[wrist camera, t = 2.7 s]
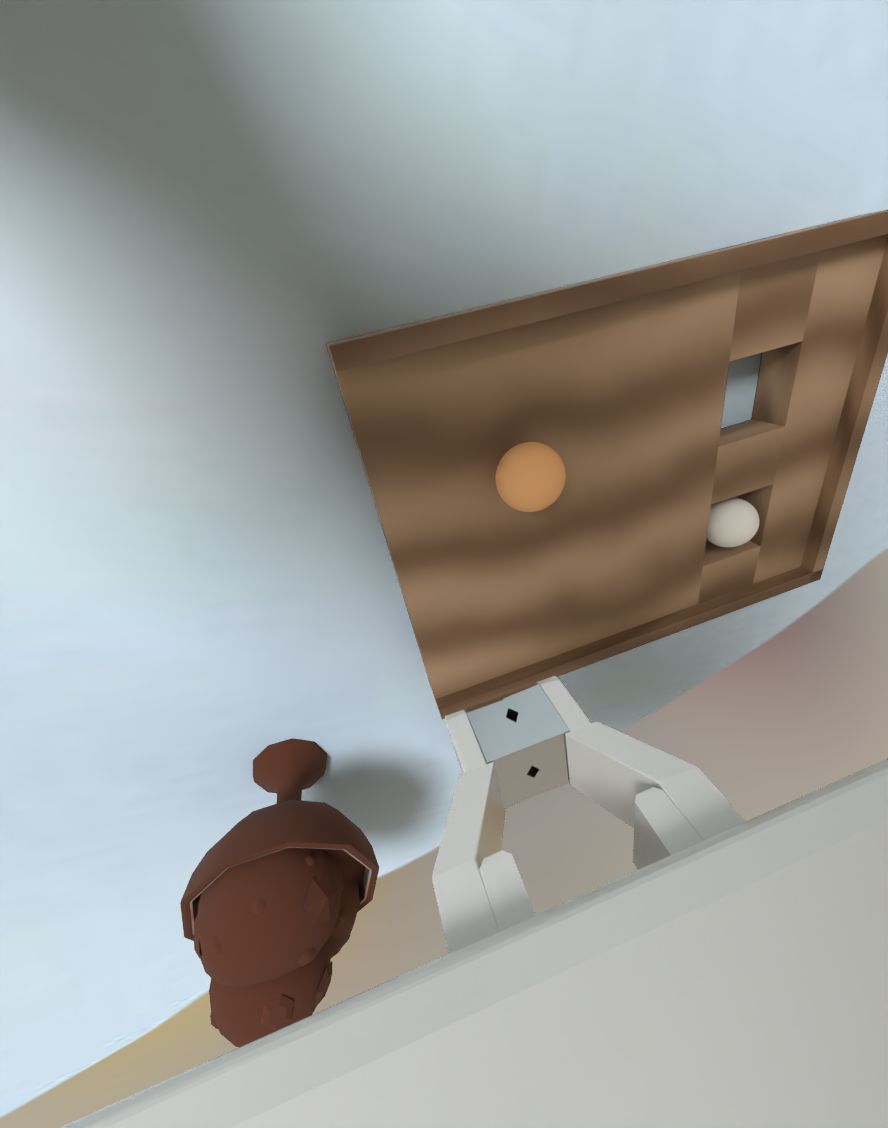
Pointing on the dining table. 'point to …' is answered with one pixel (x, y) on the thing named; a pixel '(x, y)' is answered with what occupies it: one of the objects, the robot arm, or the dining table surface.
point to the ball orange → (530, 476)
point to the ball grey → (732, 523)
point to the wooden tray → (617, 449)
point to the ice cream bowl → (277, 900)
